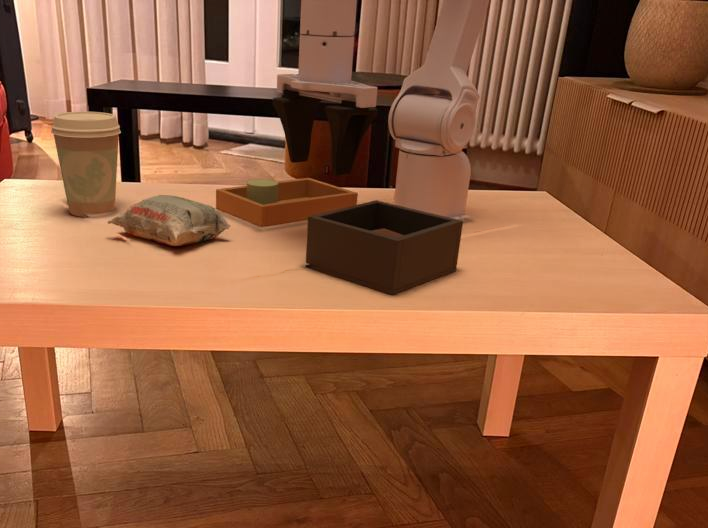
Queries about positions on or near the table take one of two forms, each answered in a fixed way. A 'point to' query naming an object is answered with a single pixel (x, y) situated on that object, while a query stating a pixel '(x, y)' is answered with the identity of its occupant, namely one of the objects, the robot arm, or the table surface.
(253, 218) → the brown wooden tray
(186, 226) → the packaged food
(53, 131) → the coffee cup
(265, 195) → the green cylinder
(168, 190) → the table surface
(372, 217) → the black basket
